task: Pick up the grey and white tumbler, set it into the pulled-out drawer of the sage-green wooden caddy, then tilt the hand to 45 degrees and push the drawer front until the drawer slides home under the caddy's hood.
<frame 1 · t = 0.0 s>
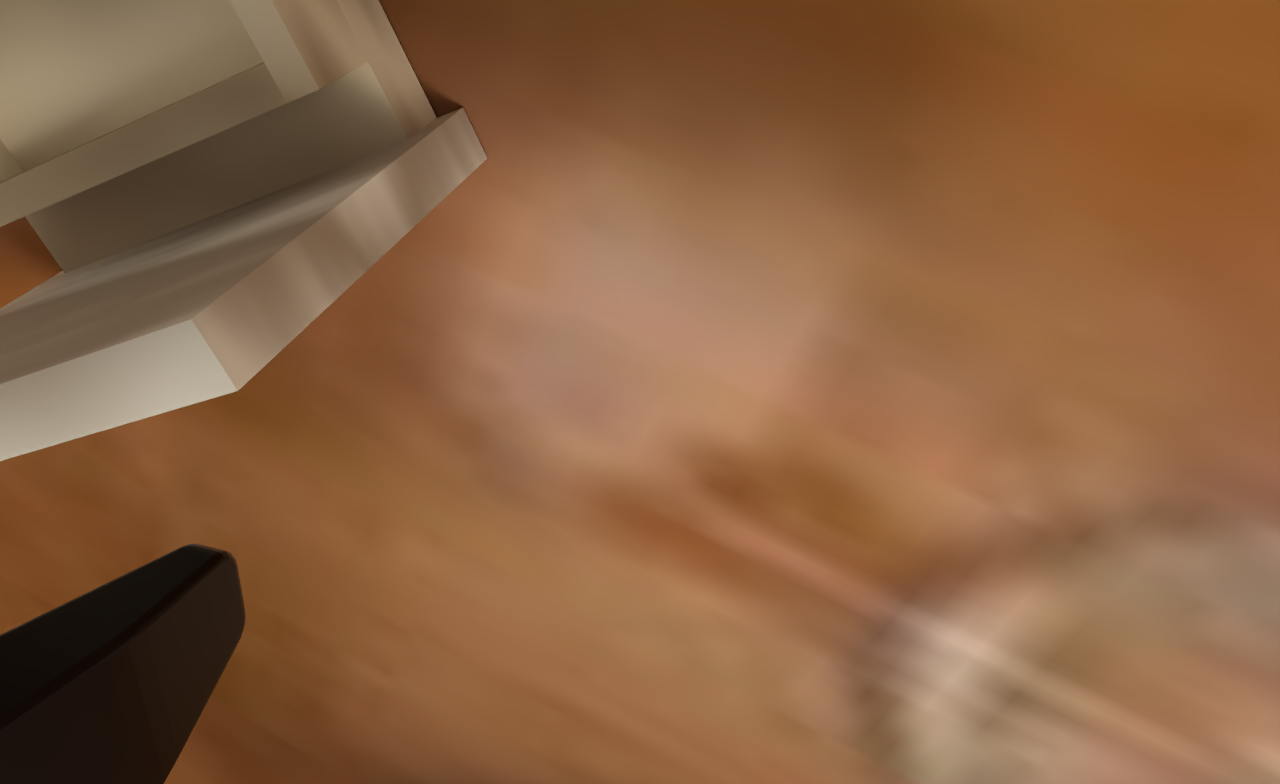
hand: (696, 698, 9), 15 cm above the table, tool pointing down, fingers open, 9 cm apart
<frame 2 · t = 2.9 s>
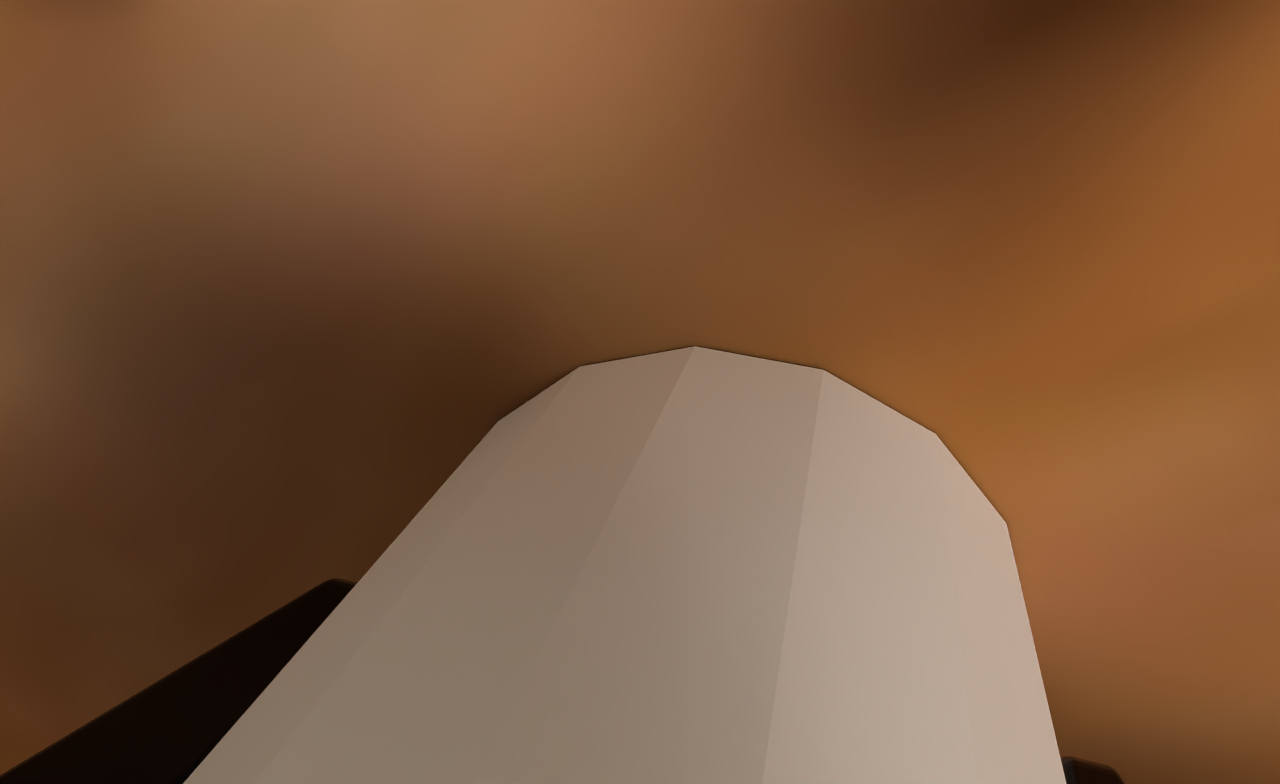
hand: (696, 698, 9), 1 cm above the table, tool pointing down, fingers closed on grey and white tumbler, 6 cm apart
grey and white tumbler: (726, 582, 11), on the table, touching gripper
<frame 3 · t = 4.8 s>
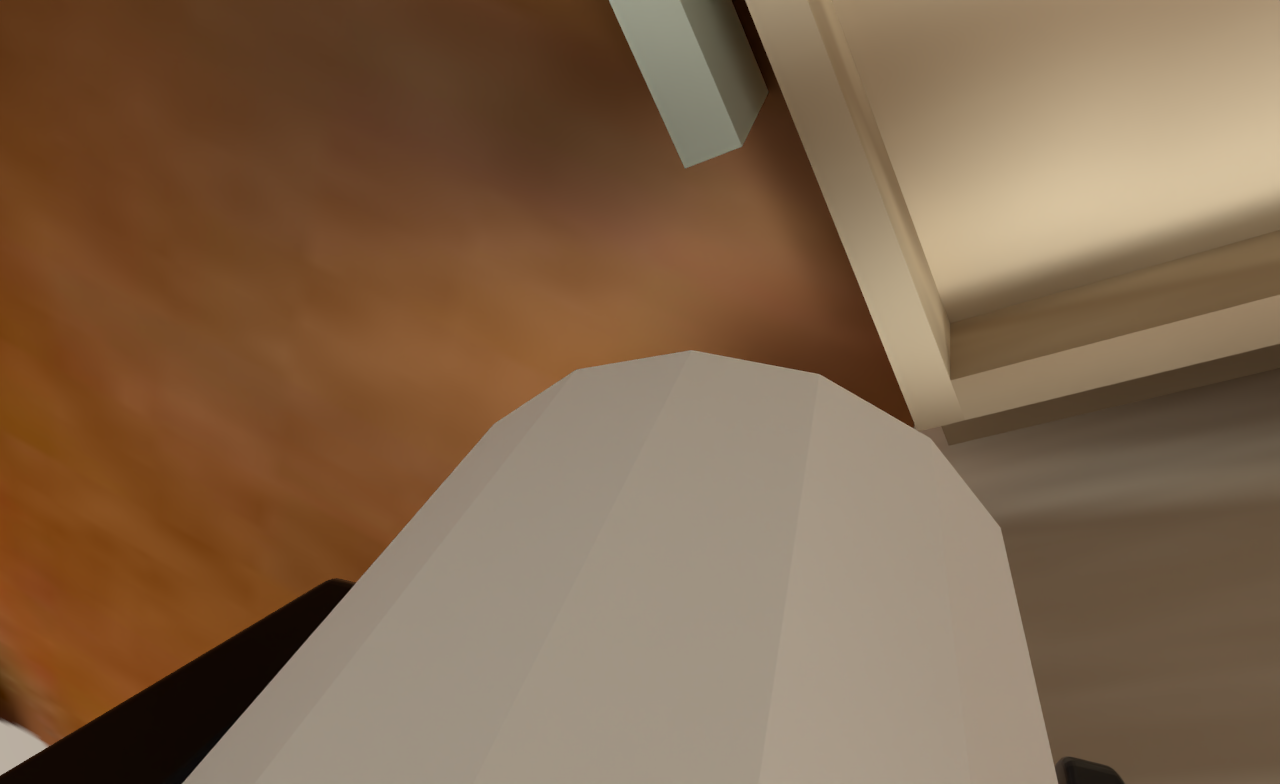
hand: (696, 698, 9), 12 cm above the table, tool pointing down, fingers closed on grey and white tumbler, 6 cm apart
grey and white tumbler: (721, 585, 11), point 11 cm above the table, touching gripper
drawer: (1242, 140, 13), point 5 cm above the table, slide at 7.0 cm
when the fingers open (4 cm above the table, at t = 6.6 s): grey and white tumbler drops 1 cm, resting on drawer.
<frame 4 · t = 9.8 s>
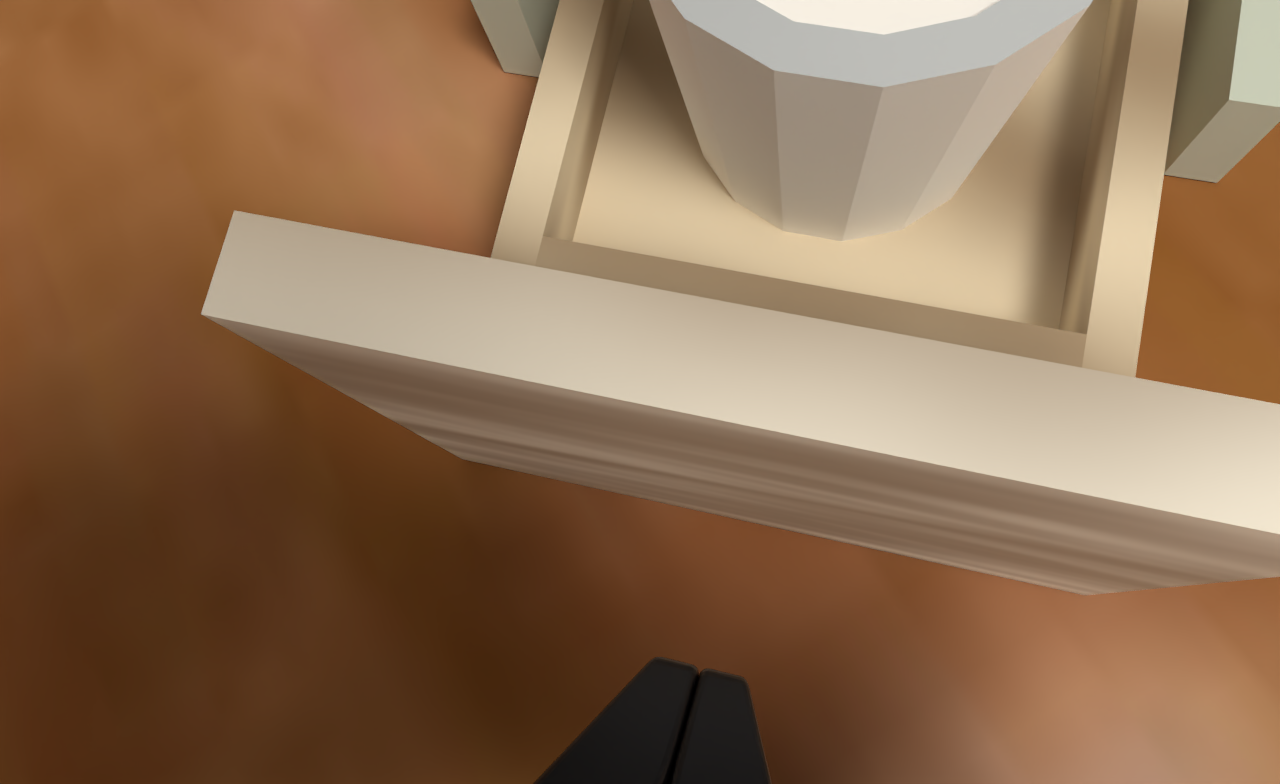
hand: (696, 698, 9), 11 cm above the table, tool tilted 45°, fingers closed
grey and white tumbler: (840, 106, 20), point 1 cm above the table, touching drawer
drawer: (845, 69, 16), point 5 cm above the table, slide at 7.0 cm, touching grey and white tumbler
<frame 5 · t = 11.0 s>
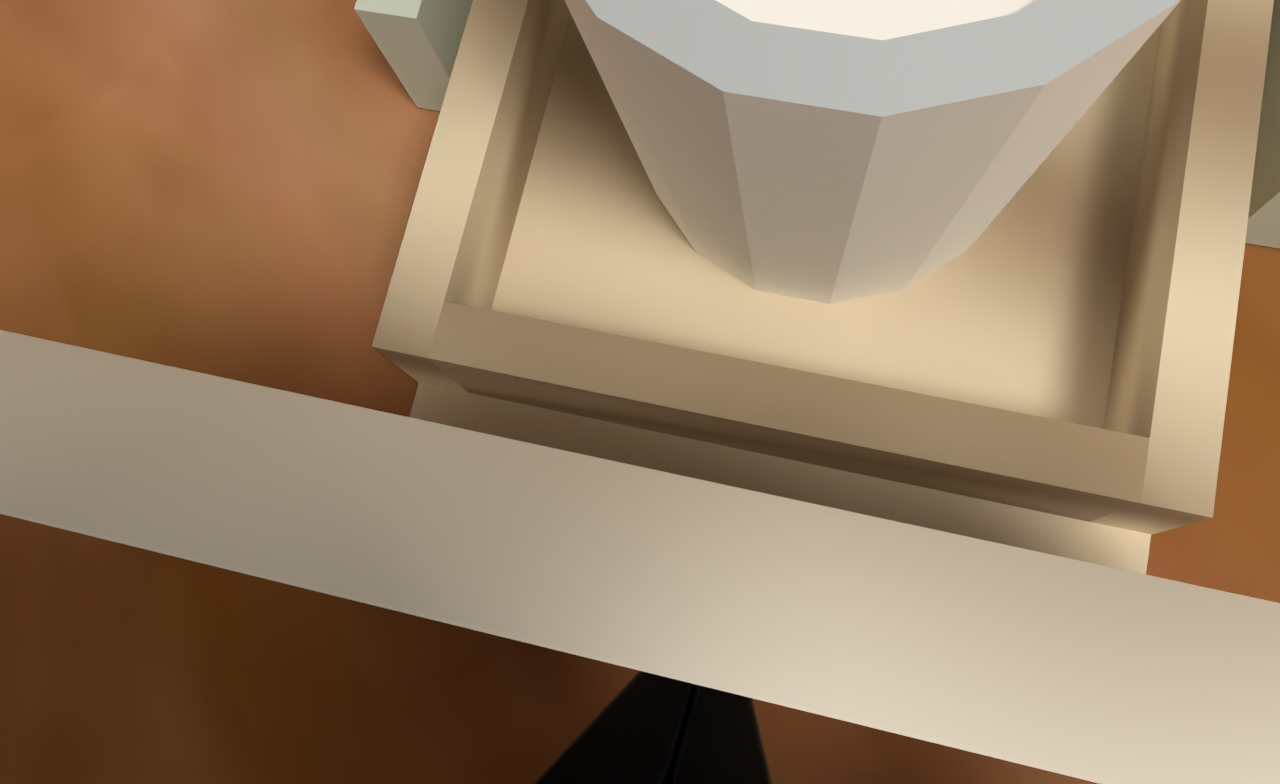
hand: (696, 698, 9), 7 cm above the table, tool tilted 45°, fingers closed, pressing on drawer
grey and white tumbler: (827, 134, 16), point 1 cm above the table, touching drawer
drawer: (831, 89, 12), point 5 cm above the table, slide at 6.6 cm, touching gripper, grey and white tumbler
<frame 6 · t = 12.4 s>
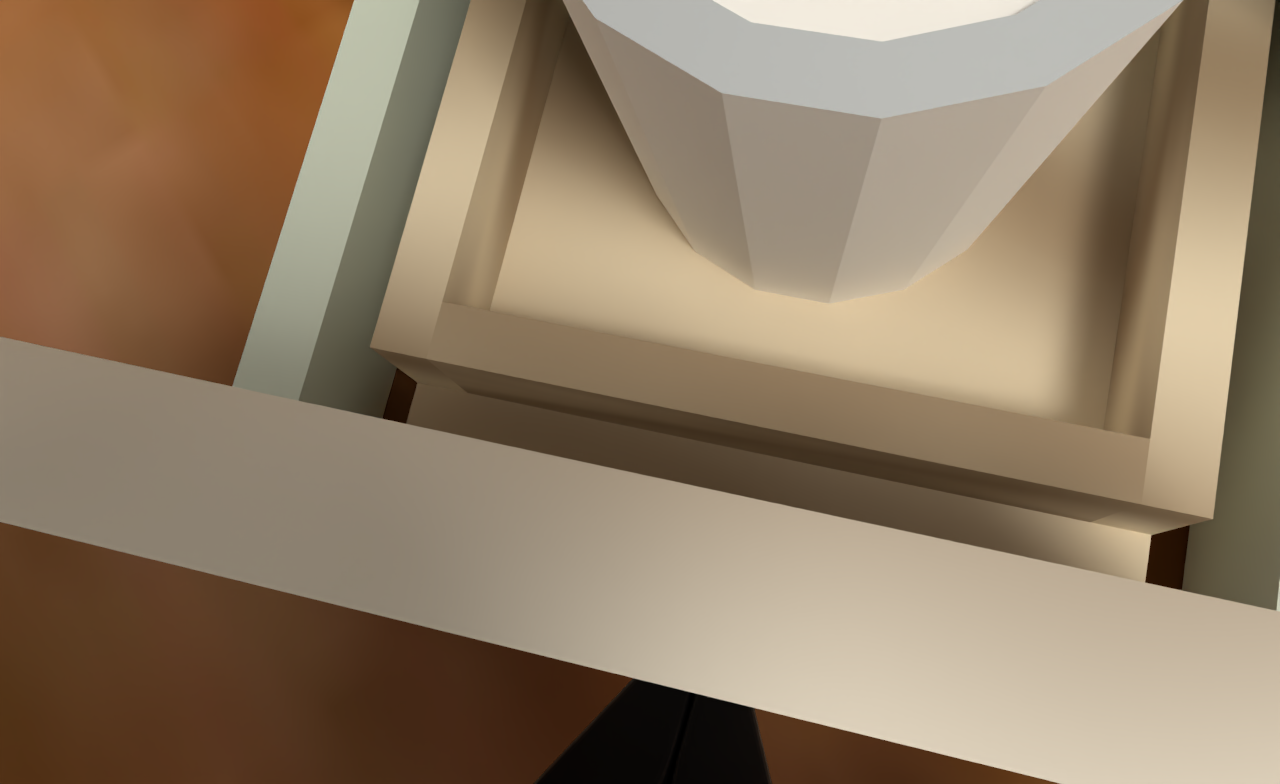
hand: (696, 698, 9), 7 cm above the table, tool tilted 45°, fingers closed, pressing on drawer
grey and white tumbler: (827, 133, 16), point 1 cm above the table, touching drawer
drawer: (830, 89, 12), point 5 cm above the table, slide at -0.1 cm, touching gripper, grey and white tumbler
caddy: (832, 141, 18), on the table
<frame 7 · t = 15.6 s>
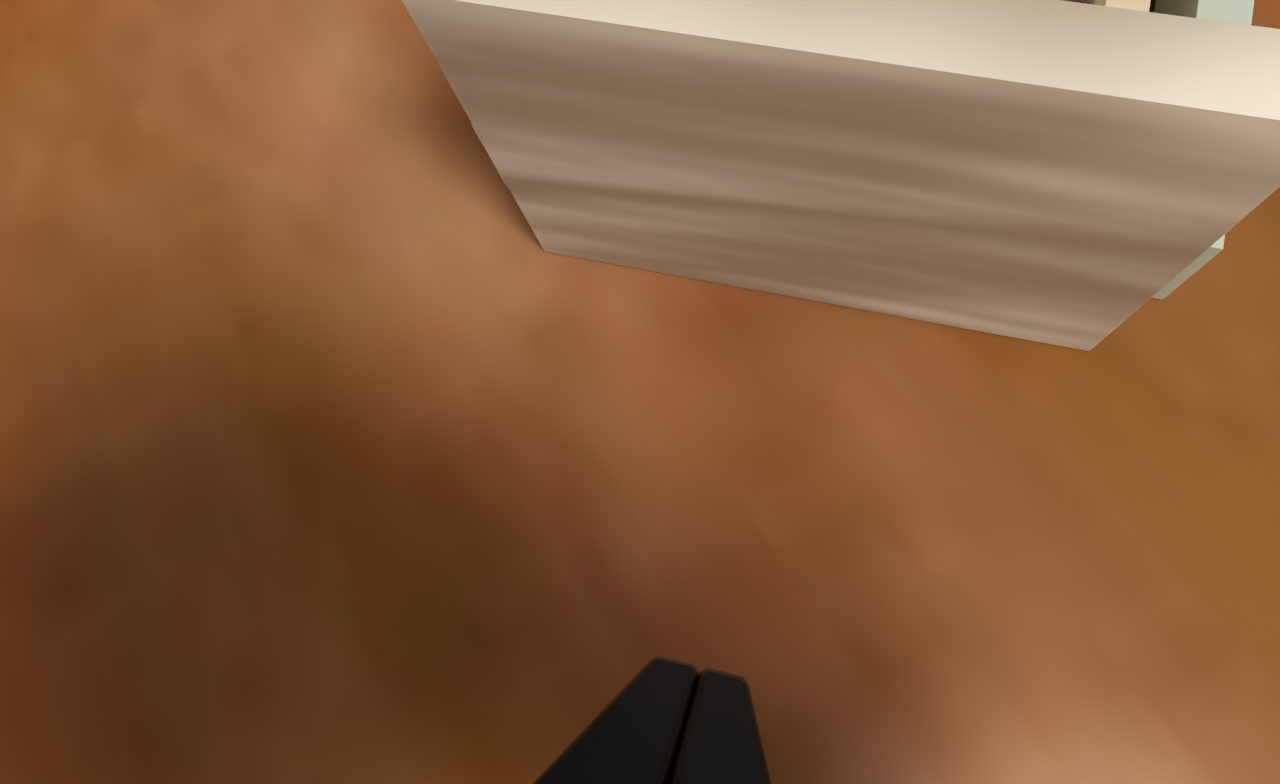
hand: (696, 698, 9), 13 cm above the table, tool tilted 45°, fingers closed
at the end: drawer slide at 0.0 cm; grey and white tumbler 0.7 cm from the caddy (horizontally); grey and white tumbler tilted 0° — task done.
